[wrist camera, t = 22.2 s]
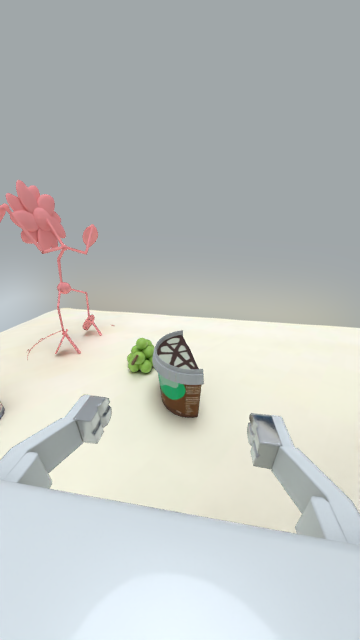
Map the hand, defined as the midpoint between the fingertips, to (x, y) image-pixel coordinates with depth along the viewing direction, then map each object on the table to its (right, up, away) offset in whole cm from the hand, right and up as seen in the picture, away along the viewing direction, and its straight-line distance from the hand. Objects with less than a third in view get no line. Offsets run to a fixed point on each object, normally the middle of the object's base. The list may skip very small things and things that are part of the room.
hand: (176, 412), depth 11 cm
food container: (-1, -8, +22) cm, 23 cm away
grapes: (-8, -5, +30) cm, 31 cm away
